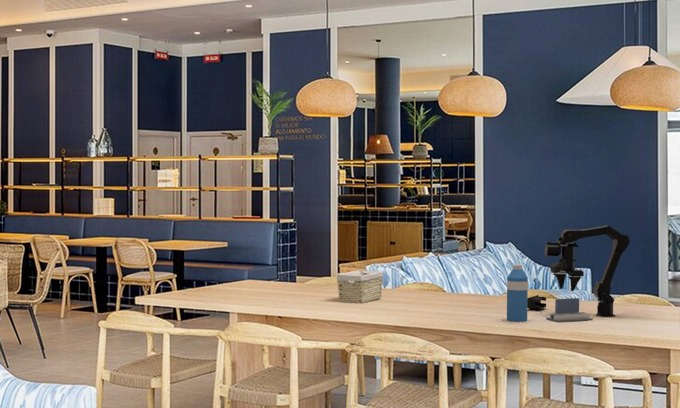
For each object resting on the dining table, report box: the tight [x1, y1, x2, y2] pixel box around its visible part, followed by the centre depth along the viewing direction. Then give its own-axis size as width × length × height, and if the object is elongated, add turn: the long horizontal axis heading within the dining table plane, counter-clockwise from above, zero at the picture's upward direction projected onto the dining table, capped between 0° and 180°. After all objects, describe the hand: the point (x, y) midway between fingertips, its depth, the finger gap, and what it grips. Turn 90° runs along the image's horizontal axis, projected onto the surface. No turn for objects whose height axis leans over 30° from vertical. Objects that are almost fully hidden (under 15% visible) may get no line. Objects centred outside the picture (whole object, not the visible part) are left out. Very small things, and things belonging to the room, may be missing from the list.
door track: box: [545, 311, 593, 323], centre depth 426 cm, size 18×10×3 cm, turn 111°
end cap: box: [527, 295, 547, 312], centre depth 459 cm, size 10×7×7 cm
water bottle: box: [506, 264, 529, 323], centre depth 424 cm, size 9×9×25 cm
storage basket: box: [336, 269, 384, 304], centre depth 493 cm, size 24×16×15 cm
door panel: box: [554, 297, 580, 314], centre depth 439 cm, size 12×2×8 cm, turn 111°
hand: (566, 290), depth 439 cm, fingers open, 9 cm apart
